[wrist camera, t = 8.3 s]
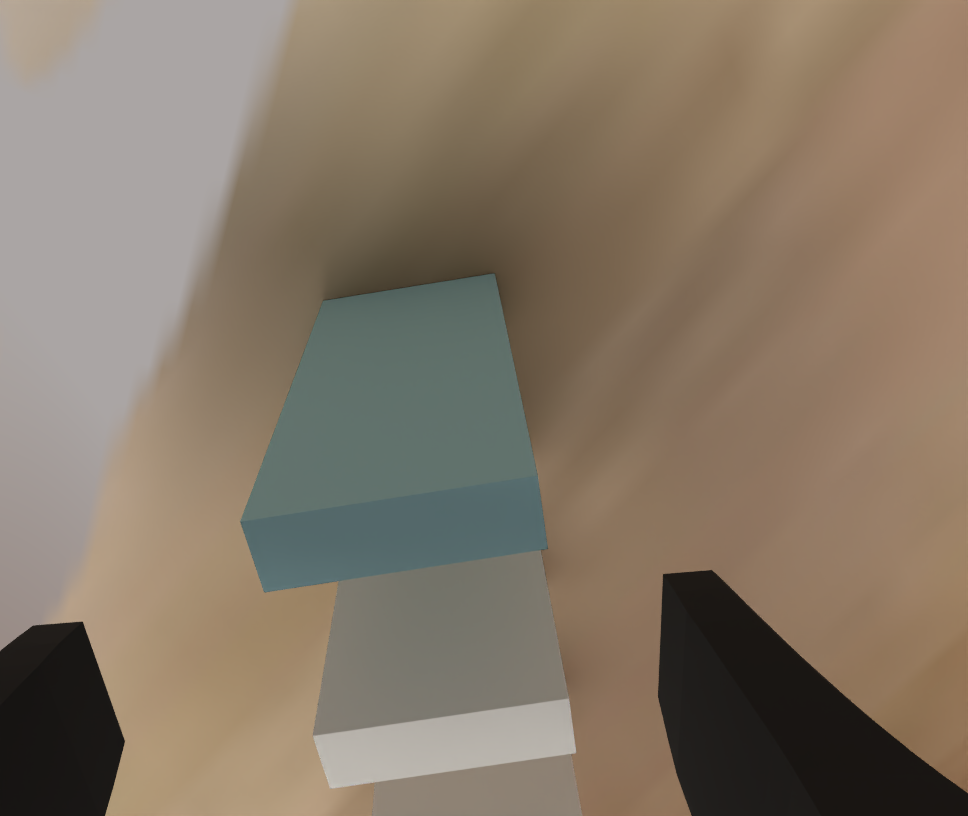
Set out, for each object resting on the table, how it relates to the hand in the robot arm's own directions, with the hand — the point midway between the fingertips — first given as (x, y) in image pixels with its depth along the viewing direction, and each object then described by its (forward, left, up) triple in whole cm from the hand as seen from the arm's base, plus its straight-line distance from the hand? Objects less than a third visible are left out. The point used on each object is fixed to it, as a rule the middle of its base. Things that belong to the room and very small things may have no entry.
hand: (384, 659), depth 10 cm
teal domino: (+1, -1, -10) cm, 10 cm away
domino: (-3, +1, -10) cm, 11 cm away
